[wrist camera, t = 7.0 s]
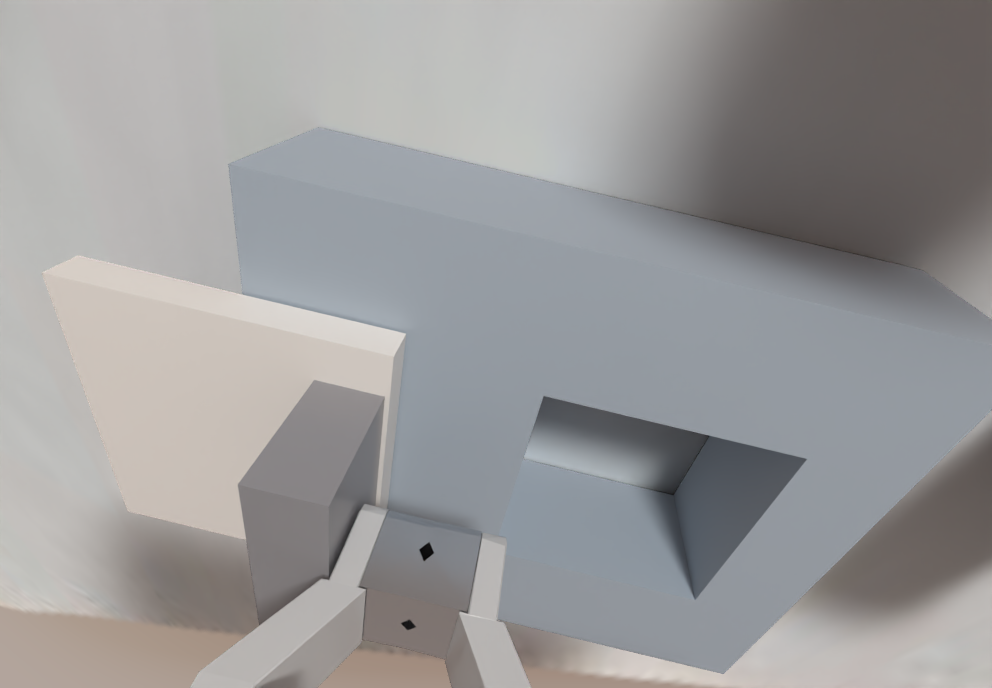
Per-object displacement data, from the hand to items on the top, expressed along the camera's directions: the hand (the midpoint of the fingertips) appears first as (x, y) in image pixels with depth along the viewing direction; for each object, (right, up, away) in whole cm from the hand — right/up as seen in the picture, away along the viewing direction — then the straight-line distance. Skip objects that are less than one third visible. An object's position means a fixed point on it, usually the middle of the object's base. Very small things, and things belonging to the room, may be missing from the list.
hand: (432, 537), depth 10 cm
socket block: (+3, +2, +4) cm, 6 cm away
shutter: (-4, +2, +1) cm, 5 cm away
